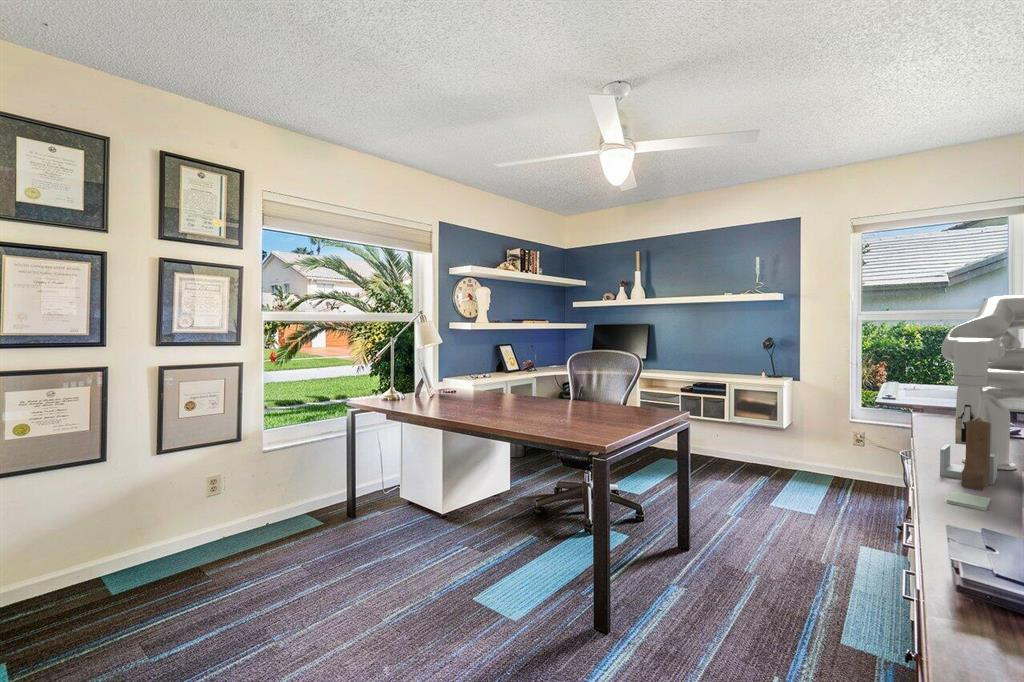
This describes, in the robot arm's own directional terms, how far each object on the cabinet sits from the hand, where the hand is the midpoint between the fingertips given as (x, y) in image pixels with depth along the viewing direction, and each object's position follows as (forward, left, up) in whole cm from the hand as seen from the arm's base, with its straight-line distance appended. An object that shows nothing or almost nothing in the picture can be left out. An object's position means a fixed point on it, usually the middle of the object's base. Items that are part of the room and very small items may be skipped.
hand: (969, 440), depth 147 cm
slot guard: (+1, 0, -11) cm, 11 cm away
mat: (+31, +3, -11) cm, 33 cm away
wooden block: (+11, +2, -11) cm, 16 cm away
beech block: (0, 0, -1) cm, 1 cm away
